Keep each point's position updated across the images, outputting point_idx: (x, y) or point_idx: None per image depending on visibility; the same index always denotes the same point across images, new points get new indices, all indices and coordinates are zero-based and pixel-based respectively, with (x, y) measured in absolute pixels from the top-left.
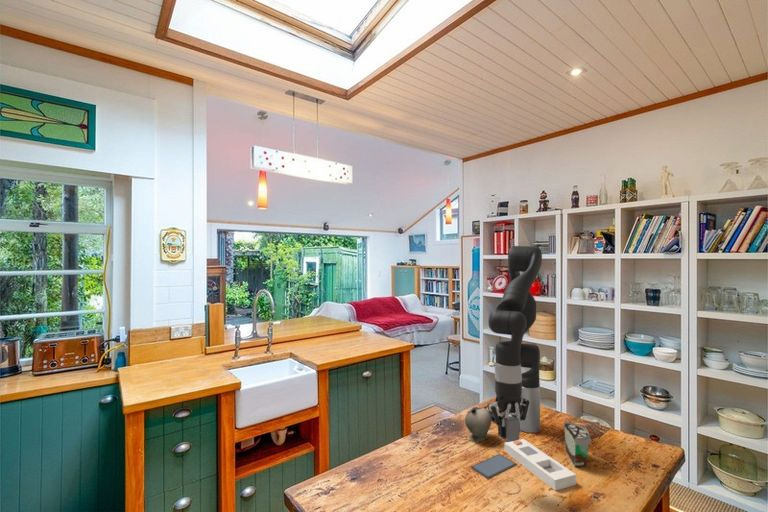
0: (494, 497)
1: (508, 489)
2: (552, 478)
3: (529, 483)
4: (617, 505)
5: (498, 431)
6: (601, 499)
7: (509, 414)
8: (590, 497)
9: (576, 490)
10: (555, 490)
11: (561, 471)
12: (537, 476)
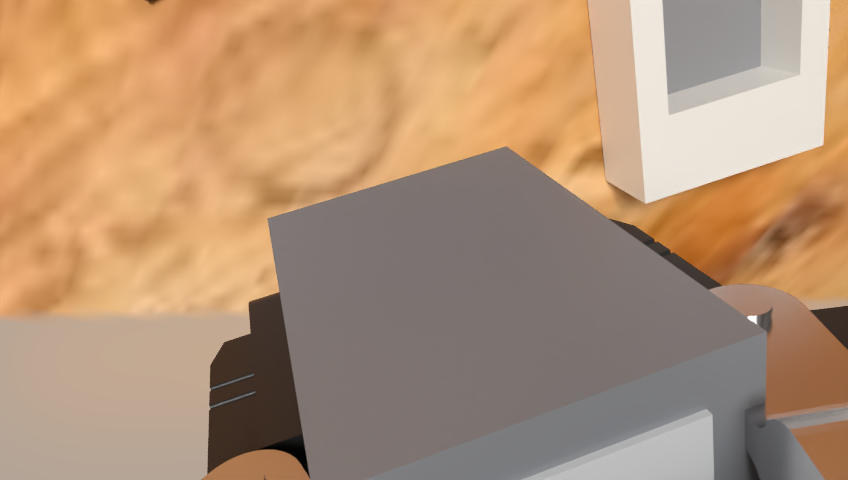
0: (137, 235)
1: (288, 150)
2: (643, 181)
3: (485, 90)
4: (819, 300)
5: (215, 398)
6: (789, 258)
7: (701, 434)
8: (751, 242)
9: (728, 181)
10: (609, 180)
11: (762, 104)
12: (590, 18)
